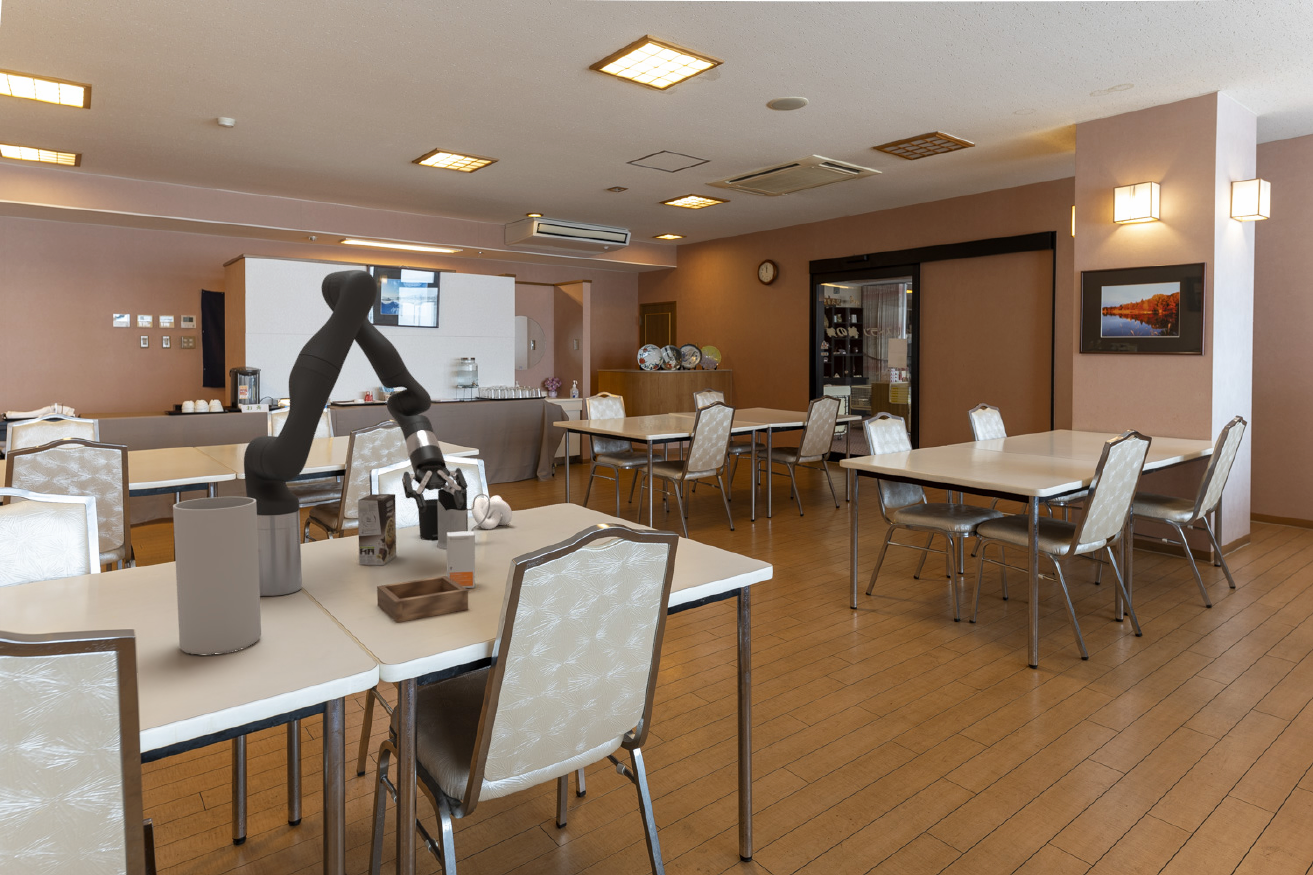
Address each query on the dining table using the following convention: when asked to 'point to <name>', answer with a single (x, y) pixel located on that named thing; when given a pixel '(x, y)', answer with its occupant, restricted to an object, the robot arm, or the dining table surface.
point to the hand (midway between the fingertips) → (442, 508)
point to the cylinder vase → (217, 574)
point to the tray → (422, 598)
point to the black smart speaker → (429, 520)
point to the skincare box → (461, 558)
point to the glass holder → (453, 516)
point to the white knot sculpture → (491, 512)
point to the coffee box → (377, 529)
